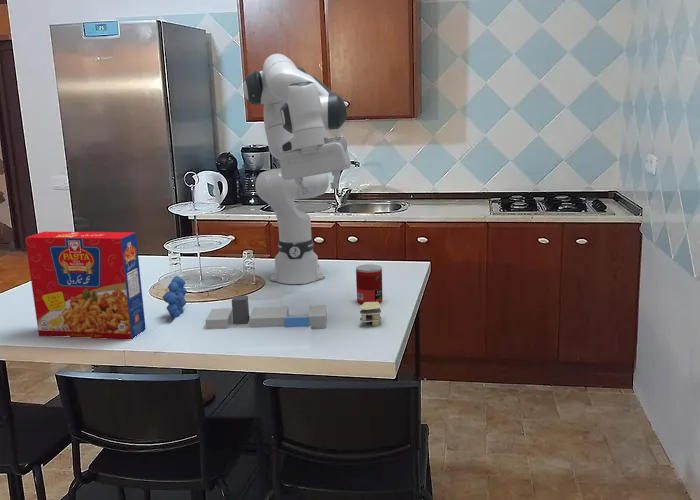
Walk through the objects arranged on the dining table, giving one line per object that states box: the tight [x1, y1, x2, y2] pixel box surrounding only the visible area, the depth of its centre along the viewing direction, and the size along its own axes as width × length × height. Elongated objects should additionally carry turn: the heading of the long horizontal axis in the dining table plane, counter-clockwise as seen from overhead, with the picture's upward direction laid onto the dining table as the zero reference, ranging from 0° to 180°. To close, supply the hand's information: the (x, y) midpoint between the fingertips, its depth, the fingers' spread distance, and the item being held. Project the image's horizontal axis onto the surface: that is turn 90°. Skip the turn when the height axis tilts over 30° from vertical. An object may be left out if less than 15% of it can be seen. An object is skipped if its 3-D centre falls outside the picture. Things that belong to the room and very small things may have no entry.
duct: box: [202, 304, 328, 330], centre depth 195 cm, size 11×34×4 cm, turn 91°
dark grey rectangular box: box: [231, 295, 250, 324], centre depth 195 cm, size 4×4×7 cm
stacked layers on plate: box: [359, 302, 382, 327], centre depth 193 cm, size 10×9×6 cm
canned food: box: [355, 263, 383, 305], centre depth 212 cm, size 8×8×11 cm
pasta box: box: [24, 231, 147, 340], centre depth 190 cm, size 28×8×28 cm, turn 79°
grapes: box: [162, 275, 188, 320], centre depth 204 cm, size 12×7×12 cm, turn 174°
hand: (319, 191), depth 189 cm, fingers open, 8 cm apart
